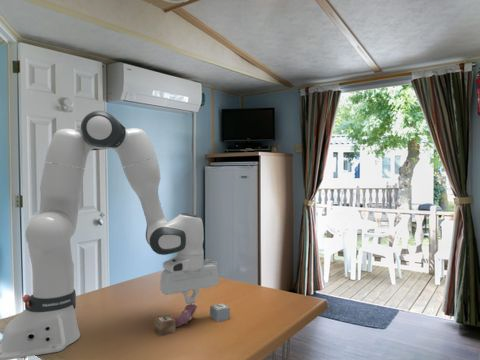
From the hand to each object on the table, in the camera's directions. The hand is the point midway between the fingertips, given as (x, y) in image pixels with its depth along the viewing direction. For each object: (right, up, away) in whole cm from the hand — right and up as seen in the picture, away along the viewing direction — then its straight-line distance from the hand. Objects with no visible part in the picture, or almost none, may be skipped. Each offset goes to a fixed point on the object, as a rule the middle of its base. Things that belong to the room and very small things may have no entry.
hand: (190, 302), depth 124 cm
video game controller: (-2, -7, 0) cm, 7 cm away
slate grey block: (+10, -7, +4) cm, 12 cm away
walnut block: (-7, -7, -7) cm, 12 cm away
